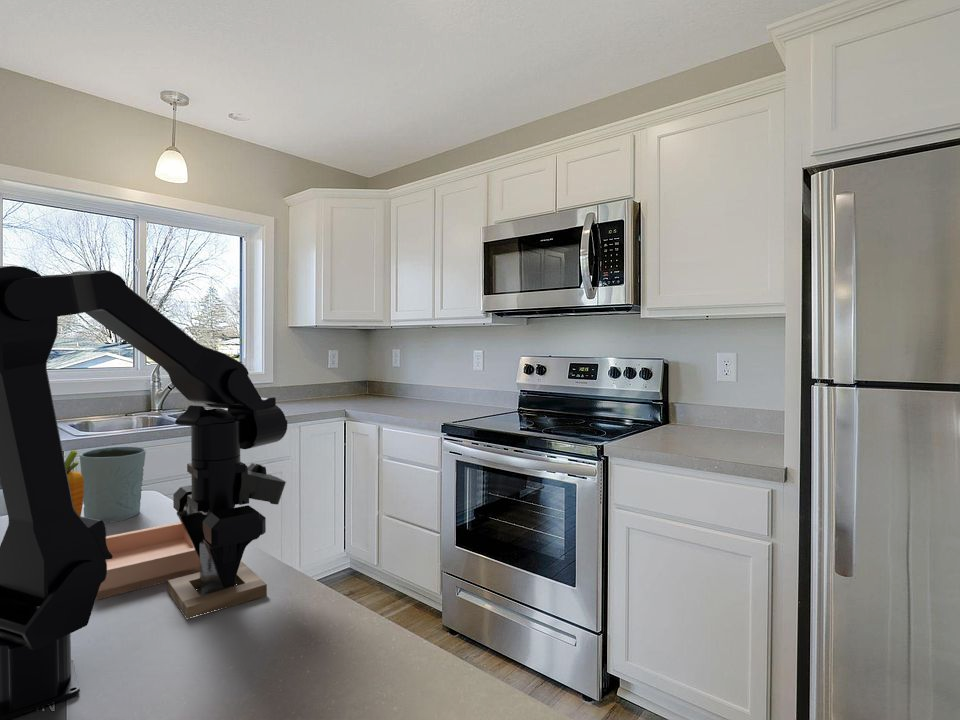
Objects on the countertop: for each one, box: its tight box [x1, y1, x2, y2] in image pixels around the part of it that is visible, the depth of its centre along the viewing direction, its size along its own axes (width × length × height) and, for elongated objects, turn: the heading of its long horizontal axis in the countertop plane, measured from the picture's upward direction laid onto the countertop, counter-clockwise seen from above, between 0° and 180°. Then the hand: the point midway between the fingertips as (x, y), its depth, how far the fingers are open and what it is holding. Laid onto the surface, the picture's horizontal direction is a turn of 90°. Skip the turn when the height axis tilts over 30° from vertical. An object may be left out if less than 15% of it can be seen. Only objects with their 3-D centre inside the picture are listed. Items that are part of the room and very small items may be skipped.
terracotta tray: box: [96, 521, 200, 600], centre depth 79 cm, size 14×14×4 cm
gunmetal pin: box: [199, 540, 235, 596], centre depth 71 cm, size 4×4×7 cm
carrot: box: [63, 449, 84, 517], centre depth 87 cm, size 5×5×15 cm
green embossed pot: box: [79, 446, 147, 524], centre depth 101 cm, size 10×10×12 cm
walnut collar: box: [167, 561, 268, 619], centre depth 71 cm, size 9×9×2 cm
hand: (216, 574), depth 71 cm, fingers open, 9 cm apart
